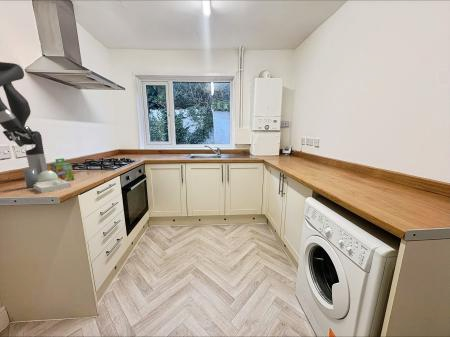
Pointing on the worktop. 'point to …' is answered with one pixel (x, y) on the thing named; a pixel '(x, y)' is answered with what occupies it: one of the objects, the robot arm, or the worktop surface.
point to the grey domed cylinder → (30, 177)
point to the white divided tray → (50, 182)
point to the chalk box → (63, 170)
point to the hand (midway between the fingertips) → (28, 144)
